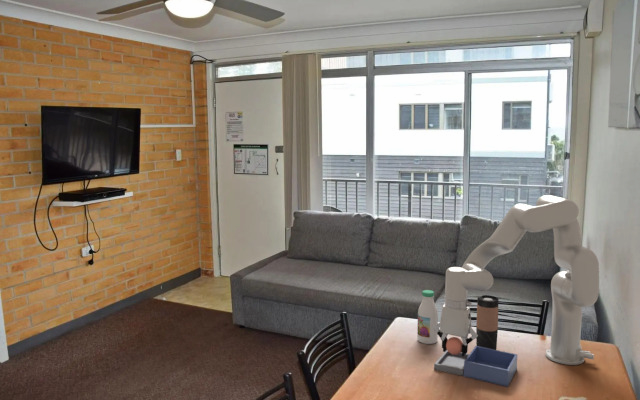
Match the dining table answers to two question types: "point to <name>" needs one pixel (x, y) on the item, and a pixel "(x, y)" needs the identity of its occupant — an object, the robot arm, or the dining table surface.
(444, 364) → the tray
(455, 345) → the ball
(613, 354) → the dining table surface
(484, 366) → the blue storage bin
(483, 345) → the travel mug
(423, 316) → the milk bottle
